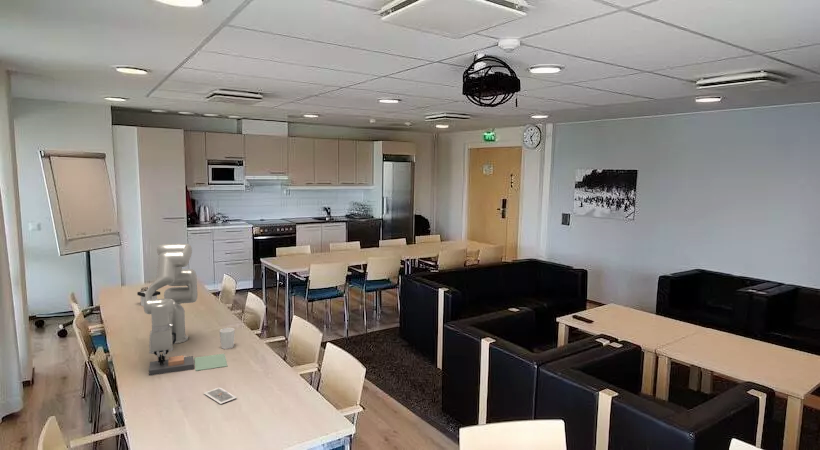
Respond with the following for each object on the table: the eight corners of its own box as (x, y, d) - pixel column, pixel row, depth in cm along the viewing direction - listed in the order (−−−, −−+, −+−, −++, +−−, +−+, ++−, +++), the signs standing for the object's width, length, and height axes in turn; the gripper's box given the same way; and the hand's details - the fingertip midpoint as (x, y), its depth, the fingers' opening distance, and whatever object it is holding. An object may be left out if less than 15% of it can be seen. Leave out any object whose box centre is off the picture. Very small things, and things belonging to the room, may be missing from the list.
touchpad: (220, 406, 203) (220, 401, 203) (203, 395, 213) (203, 390, 213) (237, 399, 209) (237, 395, 209) (219, 389, 219) (219, 384, 219)
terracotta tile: (168, 360, 243) (168, 357, 242) (183, 358, 246) (183, 355, 245) (168, 366, 236) (168, 362, 236) (184, 363, 239) (183, 360, 239)
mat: (194, 358, 253) (194, 357, 253) (224, 354, 260) (224, 353, 260) (195, 371, 237) (195, 370, 237) (227, 366, 244) (227, 365, 243)
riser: (150, 366, 241) (150, 361, 241) (193, 360, 250) (193, 355, 250) (148, 375, 231) (148, 370, 230) (194, 369, 239) (194, 364, 239)
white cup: (219, 349, 266) (218, 332, 265) (220, 345, 273) (220, 328, 272) (234, 348, 268) (233, 331, 267) (235, 344, 275) (235, 327, 274)
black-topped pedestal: (177, 304, 353) (176, 287, 352) (141, 313, 331) (140, 294, 330) (155, 299, 368) (155, 282, 366) (120, 306, 346) (119, 288, 344)
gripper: (177, 323, 243) (178, 358, 245) (143, 327, 236) (145, 362, 238) (177, 328, 236) (178, 363, 238) (142, 331, 229) (144, 368, 231)
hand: (161, 363), depth 238 cm, fingers closed
